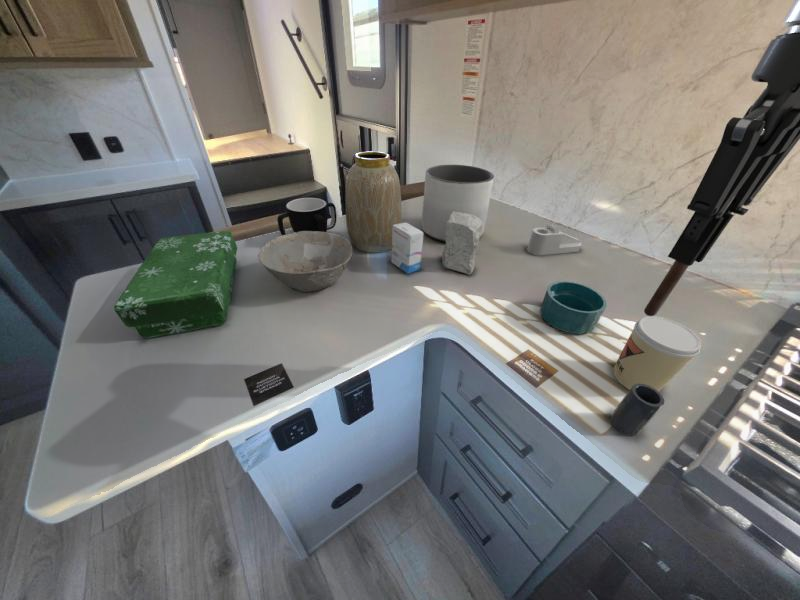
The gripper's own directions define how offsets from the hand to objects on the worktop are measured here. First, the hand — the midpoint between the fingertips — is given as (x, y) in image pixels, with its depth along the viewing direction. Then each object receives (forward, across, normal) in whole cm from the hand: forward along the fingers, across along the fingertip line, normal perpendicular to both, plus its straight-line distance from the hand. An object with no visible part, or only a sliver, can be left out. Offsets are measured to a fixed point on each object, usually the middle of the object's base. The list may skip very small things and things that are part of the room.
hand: (684, 258), depth 43 cm
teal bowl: (+27, -10, -17) cm, 34 cm away
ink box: (+28, +14, -54) cm, 62 cm away
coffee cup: (+27, -7, +2) cm, 28 cm away
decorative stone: (+28, 0, -48) cm, 55 cm away
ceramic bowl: (+27, +42, -56) cm, 75 cm away
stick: (+10, 0, 0) cm, 10 cm away
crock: (+27, +4, +7) cm, 28 cm away
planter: (+28, -11, -69) cm, 75 cm away
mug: (+28, +36, -82) cm, 93 cm away
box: (+27, +68, -62) cm, 96 cm away
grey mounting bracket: (+28, -35, -44) cm, 63 cm away
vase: (+28, +18, -71) cm, 78 cm away
